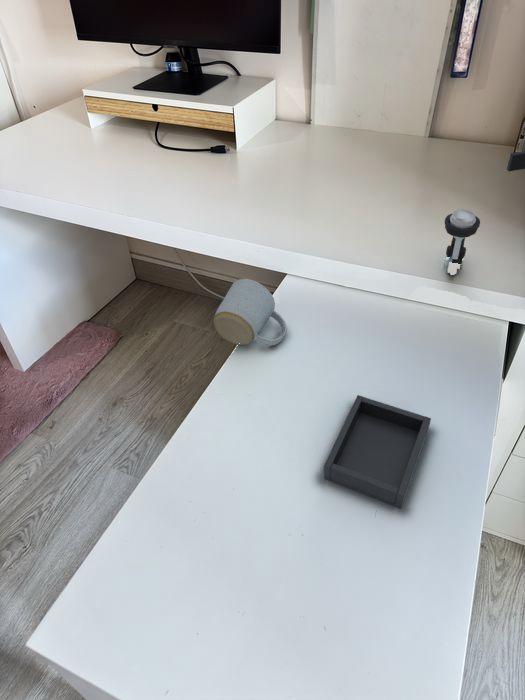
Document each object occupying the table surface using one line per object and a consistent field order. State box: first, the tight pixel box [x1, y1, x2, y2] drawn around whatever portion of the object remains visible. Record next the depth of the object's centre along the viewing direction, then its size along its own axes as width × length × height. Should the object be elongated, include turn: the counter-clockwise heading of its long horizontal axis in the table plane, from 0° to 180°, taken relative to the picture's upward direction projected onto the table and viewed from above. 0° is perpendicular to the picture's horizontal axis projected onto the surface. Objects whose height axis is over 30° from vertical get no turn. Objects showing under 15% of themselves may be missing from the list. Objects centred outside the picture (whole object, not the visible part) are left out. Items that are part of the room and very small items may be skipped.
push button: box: [444, 209, 481, 264], centre depth 83 cm, size 7×5×10 cm
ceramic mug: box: [212, 278, 288, 347], centre depth 78 cm, size 11×8×8 cm
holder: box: [323, 394, 432, 509], centre depth 62 cm, size 10×12×3 cm
